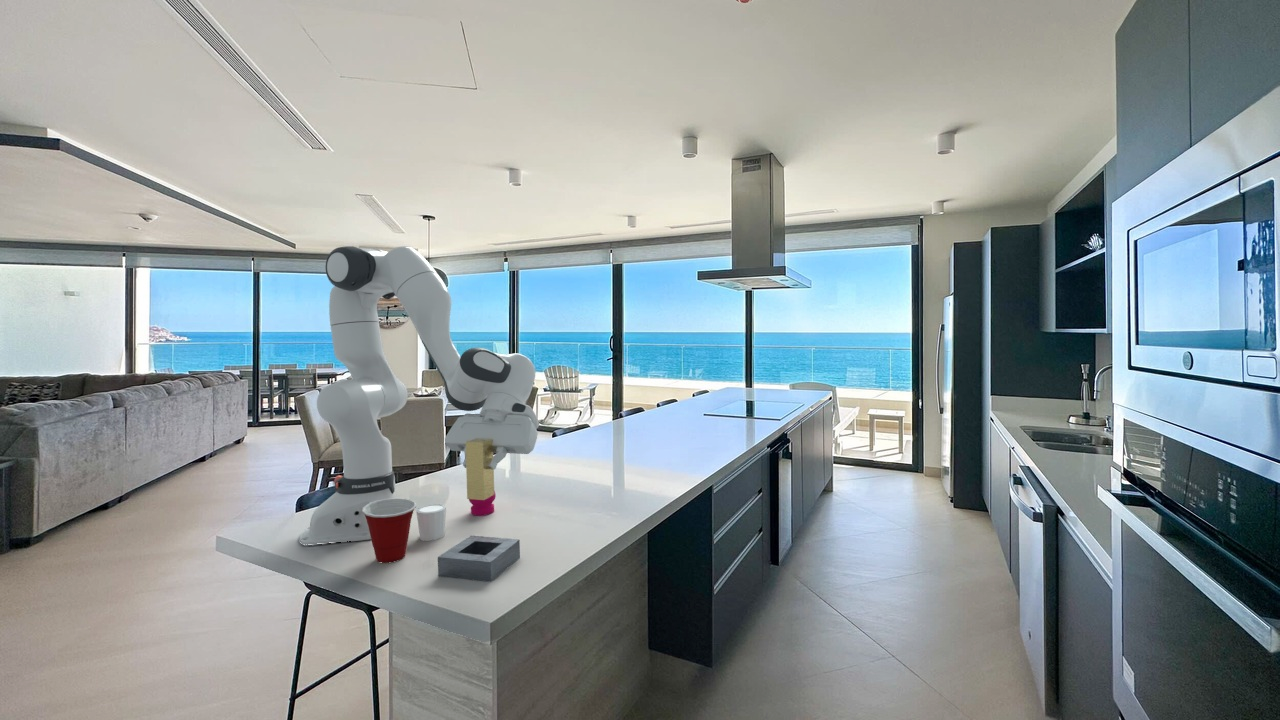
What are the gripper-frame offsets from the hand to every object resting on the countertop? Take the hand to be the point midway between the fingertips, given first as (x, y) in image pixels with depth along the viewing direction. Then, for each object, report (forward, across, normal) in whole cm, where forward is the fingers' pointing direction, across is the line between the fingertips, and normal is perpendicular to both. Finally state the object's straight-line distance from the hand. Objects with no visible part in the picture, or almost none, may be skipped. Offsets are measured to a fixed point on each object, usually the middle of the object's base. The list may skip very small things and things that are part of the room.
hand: (478, 467), depth 109 cm
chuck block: (+15, 0, +15) cm, 21 cm away
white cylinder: (+6, -22, +25) cm, 33 cm away
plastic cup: (+15, -22, +15) cm, 31 cm away
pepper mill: (-8, -19, +38) cm, 43 cm away
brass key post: (+4, 0, +5) cm, 6 cm away
